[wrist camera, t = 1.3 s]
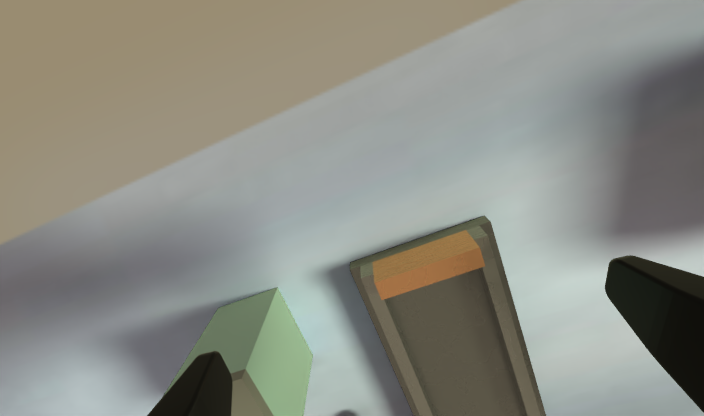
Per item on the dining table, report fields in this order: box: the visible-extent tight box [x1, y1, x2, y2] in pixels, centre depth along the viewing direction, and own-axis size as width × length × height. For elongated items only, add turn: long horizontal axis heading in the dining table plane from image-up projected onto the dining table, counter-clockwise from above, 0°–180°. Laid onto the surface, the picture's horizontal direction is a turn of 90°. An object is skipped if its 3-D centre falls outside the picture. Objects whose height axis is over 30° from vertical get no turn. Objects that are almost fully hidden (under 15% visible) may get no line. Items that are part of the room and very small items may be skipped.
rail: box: [350, 216, 546, 416], centre depth 24 cm, size 18×9×4 cm, turn 21°
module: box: [164, 287, 313, 416], centre depth 21 cm, size 6×4×8 cm
